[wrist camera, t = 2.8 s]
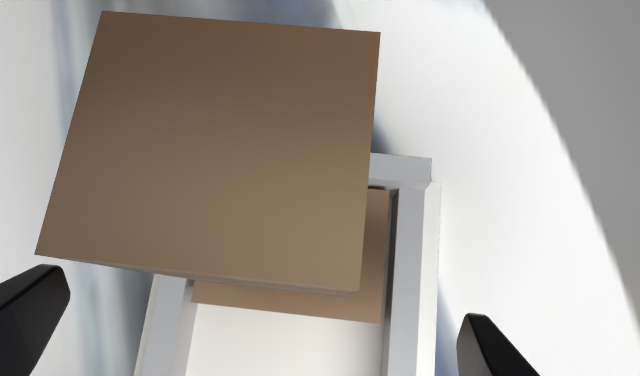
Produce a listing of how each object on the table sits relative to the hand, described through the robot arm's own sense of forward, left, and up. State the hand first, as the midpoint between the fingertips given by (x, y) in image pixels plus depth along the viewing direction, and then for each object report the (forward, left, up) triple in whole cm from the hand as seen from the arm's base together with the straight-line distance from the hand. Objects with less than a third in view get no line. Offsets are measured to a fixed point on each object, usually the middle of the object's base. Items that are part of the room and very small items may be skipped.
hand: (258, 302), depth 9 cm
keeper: (+2, 0, -8) cm, 9 cm away
